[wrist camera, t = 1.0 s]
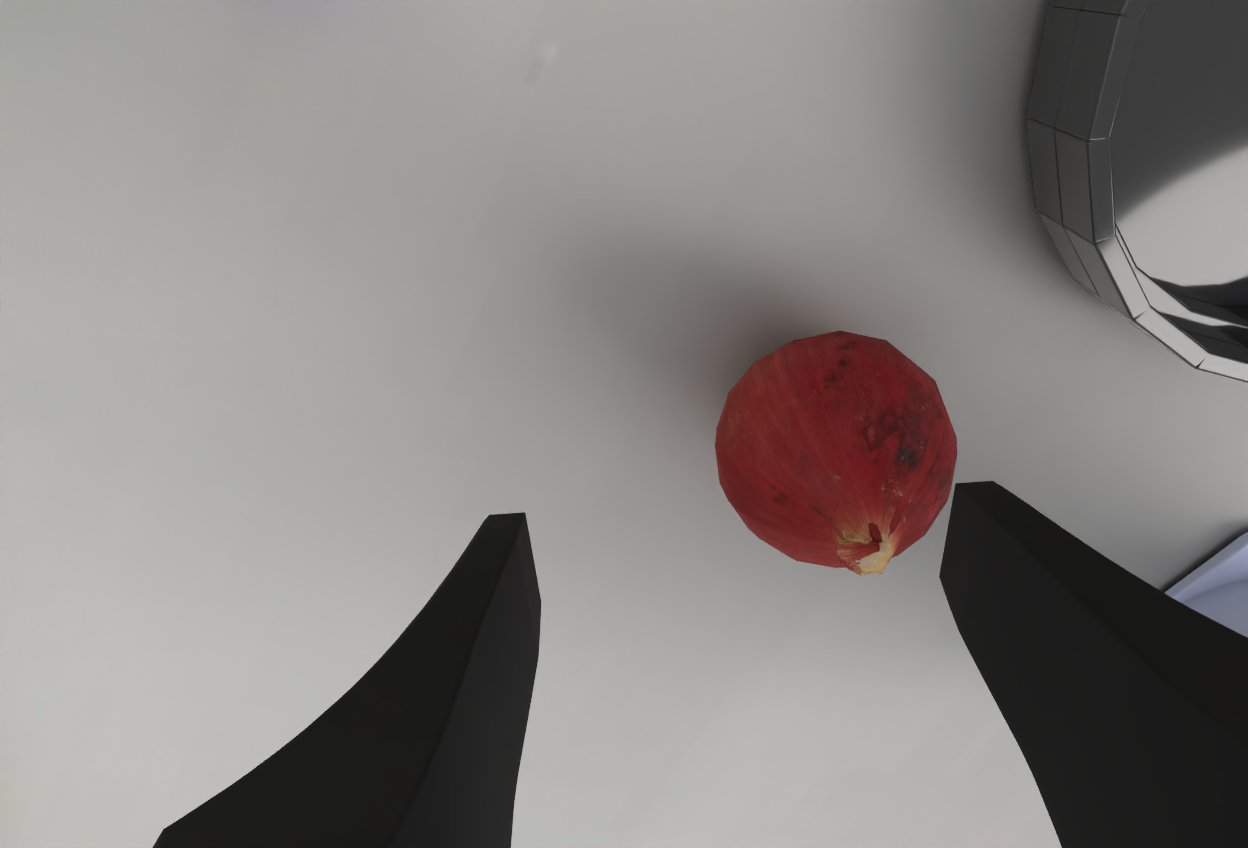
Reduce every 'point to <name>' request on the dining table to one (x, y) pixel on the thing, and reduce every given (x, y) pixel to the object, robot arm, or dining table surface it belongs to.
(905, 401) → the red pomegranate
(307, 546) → the dining table surface
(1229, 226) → the pan
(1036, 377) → the dining table surface
